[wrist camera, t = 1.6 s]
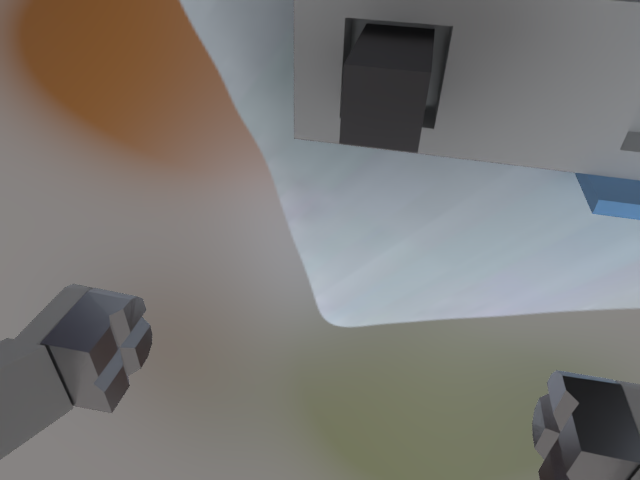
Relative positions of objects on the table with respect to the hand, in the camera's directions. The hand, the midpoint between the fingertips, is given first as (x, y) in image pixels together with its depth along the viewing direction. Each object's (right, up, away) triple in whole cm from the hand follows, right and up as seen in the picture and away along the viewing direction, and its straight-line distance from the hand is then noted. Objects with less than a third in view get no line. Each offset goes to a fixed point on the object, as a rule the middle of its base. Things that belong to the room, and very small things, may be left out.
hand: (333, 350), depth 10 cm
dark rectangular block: (+4, +12, +16) cm, 20 cm away
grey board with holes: (+12, +11, +16) cm, 23 cm away
